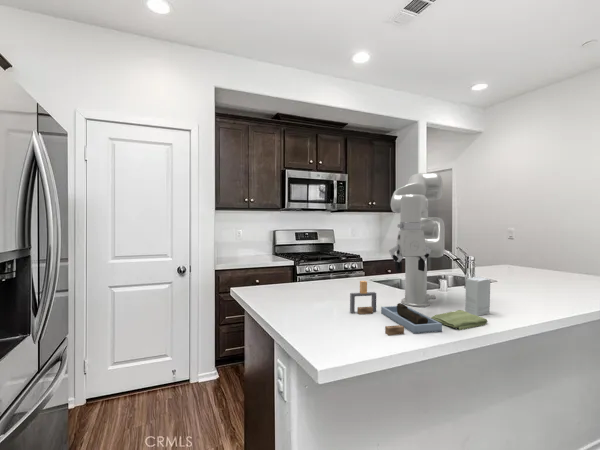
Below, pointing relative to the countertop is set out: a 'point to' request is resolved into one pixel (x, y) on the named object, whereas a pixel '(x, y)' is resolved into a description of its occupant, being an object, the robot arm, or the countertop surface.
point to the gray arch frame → (362, 293)
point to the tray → (409, 325)
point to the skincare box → (477, 296)
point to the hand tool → (410, 315)
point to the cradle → (388, 329)
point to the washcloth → (460, 319)
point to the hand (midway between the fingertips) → (410, 271)
